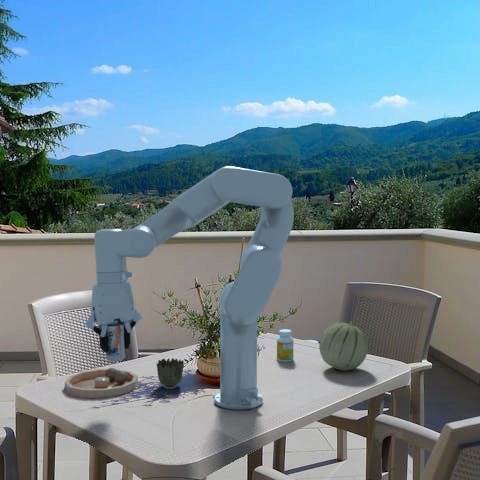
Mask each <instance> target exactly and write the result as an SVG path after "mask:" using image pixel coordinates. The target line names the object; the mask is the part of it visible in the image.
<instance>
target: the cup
mask: <svg viewBox="0 0 480 480" xmlns="http://www.w3.org/2000/svg"><path fill="white" fill-rule="evenodd" d="M184 363H185V362H184V359H182V360H181V359H179V360H178V359H177V358H174V357H172V358H171V360H170V358H167V360H166V359H165V358H161V360H160V359H158V361H157V362H156V363H155V364H156V370H157V376H158V380H159V383H161V385H163V388H164V389H167V390H168V389H169V390H171V389H175V388H177V387H178V384H179V383H181V380H182V377H183V372H184Z"/></svg>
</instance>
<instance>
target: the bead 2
mask: <svg viewBox="0 0 480 480" xmlns="http://www.w3.org/2000/svg"><path fill="white" fill-rule="evenodd" d="M114 379H115V382H116V383H118V384H124V383H125V382H126V381H127V374H126V373H125V372H124V371H119V372H117V373H116V374H115V376H114Z"/></svg>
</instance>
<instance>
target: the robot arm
mask: <svg viewBox="0 0 480 480" xmlns="http://www.w3.org/2000/svg"><path fill="white" fill-rule="evenodd" d="M292 197H293V187H292V184H291V182H290V180H289V179H288V178H286V177H285V175H282V174H279V173H272V172H267V171H260V170H256V169H255V170H254V169H249V168H242V167H237V166H231V165H229V166H228V165H226V166H223V167H220V168H219V169H218V168H217V170H215V171H214V172H212V173H210V174H209V175H208V176H206V177H205V178H203V179H202V180H200V181H199V182H198V183H196V184H195V185H193V186H192V187H190V188H188V189H187V190H185V191H184V192H183V193H181V194H179V195H178V196H176V197H175V198H174V199H172V201H170V203H168V204H167V205H166V206H165V207H163V208H162V209H160V210H159V211H157V212H156V213H154V214H153V215H152V216H150V217H149V218H147V219H146V220H144V221H143V222H141V223H140V224H138V225H137V226H135V227H133V228H131V229H124V230H123V229H121V228H103V229H98V230H96V231H95V233H94V253H95V254H94V255H95V256H94V257H95V274H96V276H95V278H96V284H93V285H92V286H93V287H92V293H91V308H90V309H91V310H90V311H91V312H90V313H91V314H89V315H90V316H88V319H87V320H86V322H85V324H84V325H85V326H86V327H87V328H89V329H90V330H92V331H93V332H94V333H96V334H97V335H98V336H99V338H98V339H99V340H98V341H99V348H100V350H101V351H102V352H104V353H106V352H108V337H107V336H106V330H107V325H108V324H111V323H113V321H114V318H116V317H118V318H119V319H120V320H121V322H124V339H125V350H126V349H127V350H128V349H130V345H131V335H130V334H131V332H132V330H133V328H135V326H137V323H138V322H140V321H141V319H142V315H141V314H140V313H139V312H138V310H137V309H136V308H135V301H134V294H133V291H132V286H131V282H130V281H129V278H132V276H133V272H132V271H128V268H127V258H135V259H136V258H137V259H143V258H147V257H149V256H150V255H152V254H153V252H154V251H155V249H157V248H158V247H159V246H162V244H164V243H165V242H166V241H169V239H171V238H173V237H175V236H176V235H178V234H179V233H181V232H183V231H185V230H187V229H188V230H189V229H191V228H193V227H195V226H197V225H198V224H200V223H201V222H203V221H204V220H205V219H207V218H209V217H210V216H211V215H213V214H214V213H215V212H217V211H219V210H220V209H222V208H223V207H225V206H226V205H228V204H229V203H236V204H241V205H247V206H253V207H260V213H261V214H260V217H259V221H258V223H257V225H256V228H255V230H254V232H253V233H252V234H253V235H252V236H251V238H250V240H249V242H248V244H247V245H246V248H245V249H244V250H243V253H242V254H241V256H240V259H239V261H240V262H239V265H240V269H239V272H238V273H237V275H236V277H235V279H234V281H231V282H229V283H227V284H226V285H225V286H224V287H223V288H222V290H221V291H220V295H219V323H220V325H219V327H220V339H219V343H220V345H219V347H220V350H219V351H220V352H219V353H220V355H219V356H220V357H219V359H220V362H219V364H220V367H219V369H220V371H219V372H220V375H219V377H220V381H219V382H220V384H219V387H220V388H219V389H220V390H219V391H220V392H218V393H217V394H216V395H214V398H213V399H214V404H215V405H216V406H218V407H220V408H223V409H228V410H237V411H239V410H240V411H241V410H243V411H244V410H249V409H254V408H257V407H259V406H260V405H262V404H263V400H264V399H263V396H262V395H261V393H259V388H258V382H257V380H258V378H257V377H258V375H257V374H258V366H257V365H258V319H259V318H260V316H261V315H262V313H263V311H264V309H265V307H266V305H267V303H268V302H269V299H270V297H271V295H272V293H273V292H274V289H275V287H276V286H277V283H278V282H279V279H280V277H281V274H282V260H281V257H280V256H281V254H282V252H283V250H284V247H285V246H286V243H287V242H288V241H287V240H288V239H289V236H290V234H291V231H292V229H293V225H294V219H295V217H294V216H295V215H294V213H295V211H294V205H293V202H292ZM94 323H97V325H98V326H97V325H95V324H94Z"/></svg>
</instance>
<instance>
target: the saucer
mask: <svg viewBox="0 0 480 480" xmlns="http://www.w3.org/2000/svg"><path fill="white" fill-rule="evenodd" d="M108 369H109V368H100V369H99V368H97V369H91V370H85V371H81V372H78V373H76V374H72V375H70V376H68V378H67V379H65V381H64V390H65V391H66V392H67V393H68V394H69V395H70V396H73V397H74V396H75V397H79V398H85V399H87V398H88V399H96V398H97V399H100V398H103V399H105V398H110V397H116V396H121V395H125V394H128V393H129V392H131V391H133V390H136V387H137V386H138V383H139V381H138V380H139V379H138V377H139V376H138V375H137V374H135V373H133V371H130V370H125V369H120V368H119V369H118V368H115V369H116V370H117V372H119V371H124V372H125V373H126V374H127V381H126V382H125V383H124V384H118V383H116V382H115V380H113V381H109V378H108V377H105V372H106V371H107V370H108Z"/></svg>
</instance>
